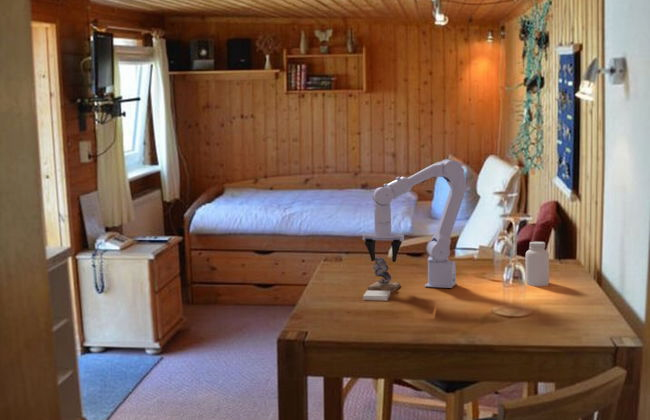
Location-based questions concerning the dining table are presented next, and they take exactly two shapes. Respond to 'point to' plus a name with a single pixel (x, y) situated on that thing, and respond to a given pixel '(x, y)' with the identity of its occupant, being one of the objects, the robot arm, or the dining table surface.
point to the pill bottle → (537, 265)
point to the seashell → (382, 270)
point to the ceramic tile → (376, 295)
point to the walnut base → (384, 287)
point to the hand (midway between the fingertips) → (383, 261)
